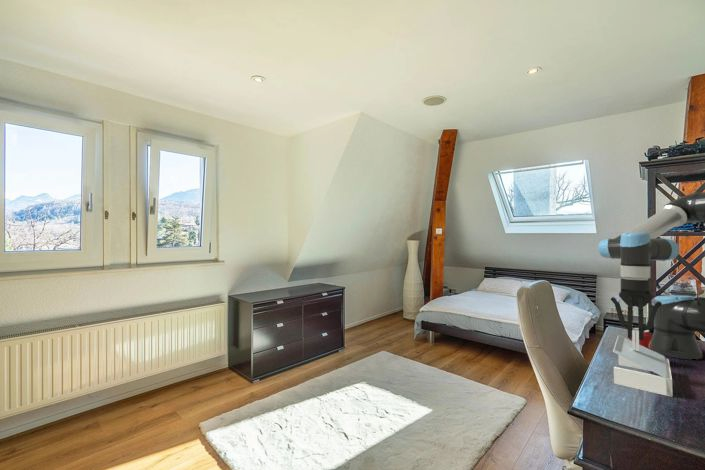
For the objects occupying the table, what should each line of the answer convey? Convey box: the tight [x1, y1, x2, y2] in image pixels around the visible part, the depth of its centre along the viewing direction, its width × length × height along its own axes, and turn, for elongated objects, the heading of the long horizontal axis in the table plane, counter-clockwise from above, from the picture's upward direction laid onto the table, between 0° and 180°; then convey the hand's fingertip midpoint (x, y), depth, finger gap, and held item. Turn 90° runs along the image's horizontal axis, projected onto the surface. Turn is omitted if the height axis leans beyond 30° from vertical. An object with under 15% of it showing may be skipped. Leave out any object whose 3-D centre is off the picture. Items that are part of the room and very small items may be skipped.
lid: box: [612, 334, 667, 378], centre depth 106 cm, size 13×22×1 cm, turn 137°
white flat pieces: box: [613, 354, 673, 398], centre depth 106 cm, size 13×22×5 cm, turn 137°
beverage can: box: [628, 327, 653, 350], centre depth 120 cm, size 6×6×12 cm
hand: (635, 349), depth 107 cm, fingers closed
